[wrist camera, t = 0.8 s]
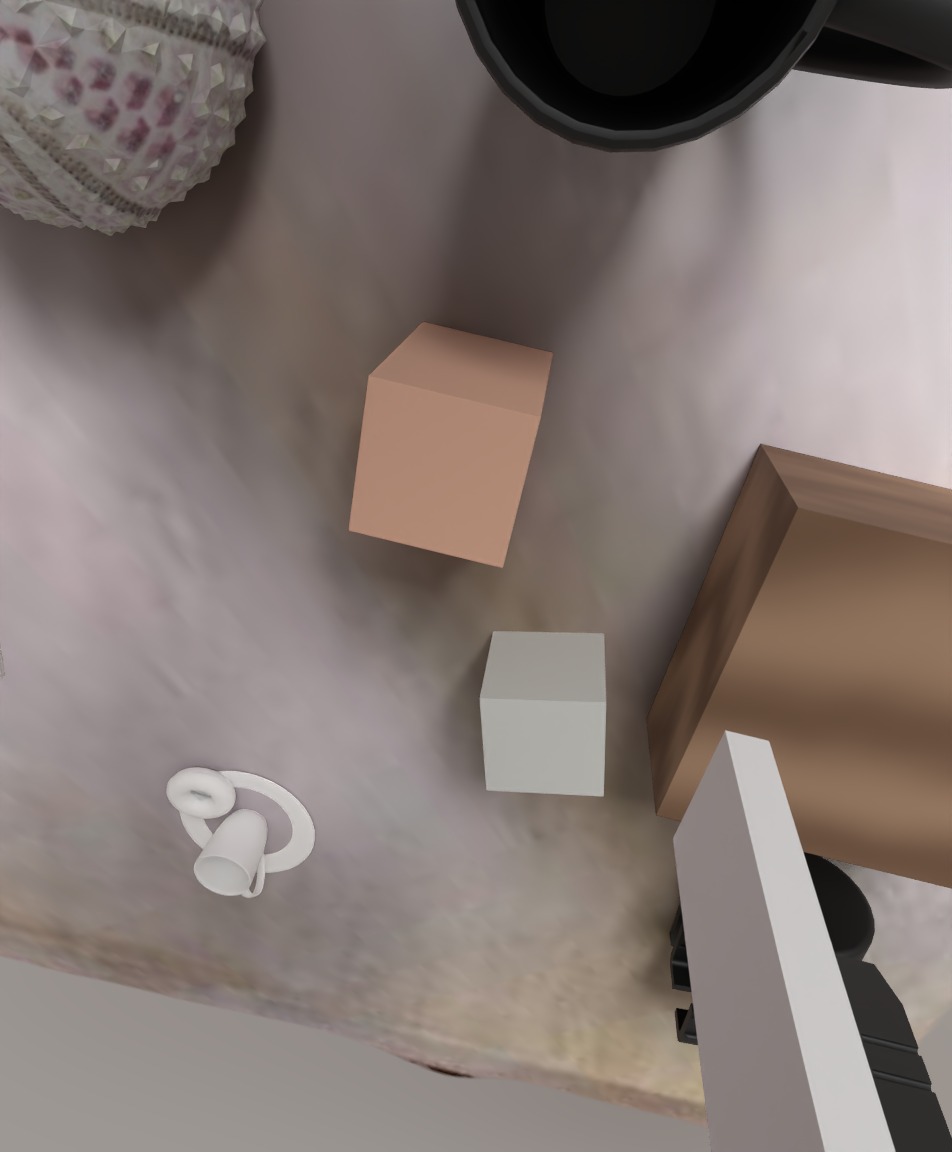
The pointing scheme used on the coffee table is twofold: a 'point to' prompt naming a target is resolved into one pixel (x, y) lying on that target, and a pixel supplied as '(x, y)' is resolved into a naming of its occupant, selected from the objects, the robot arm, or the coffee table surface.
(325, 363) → the coffee table surface
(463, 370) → the terracotta block
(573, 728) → the grey cube
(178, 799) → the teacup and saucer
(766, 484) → the walnut block
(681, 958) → the end cap
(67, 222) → the sea urchin shell
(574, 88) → the mug
